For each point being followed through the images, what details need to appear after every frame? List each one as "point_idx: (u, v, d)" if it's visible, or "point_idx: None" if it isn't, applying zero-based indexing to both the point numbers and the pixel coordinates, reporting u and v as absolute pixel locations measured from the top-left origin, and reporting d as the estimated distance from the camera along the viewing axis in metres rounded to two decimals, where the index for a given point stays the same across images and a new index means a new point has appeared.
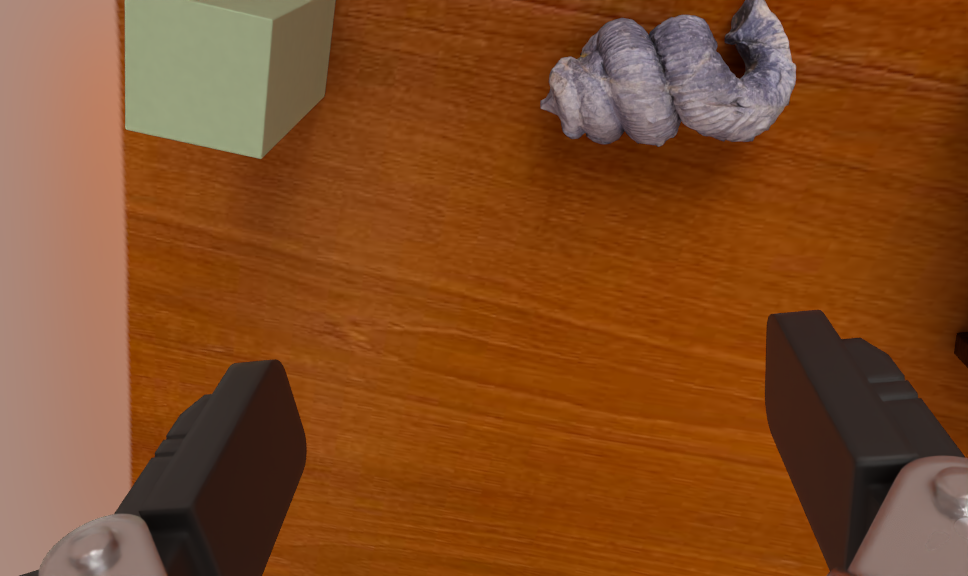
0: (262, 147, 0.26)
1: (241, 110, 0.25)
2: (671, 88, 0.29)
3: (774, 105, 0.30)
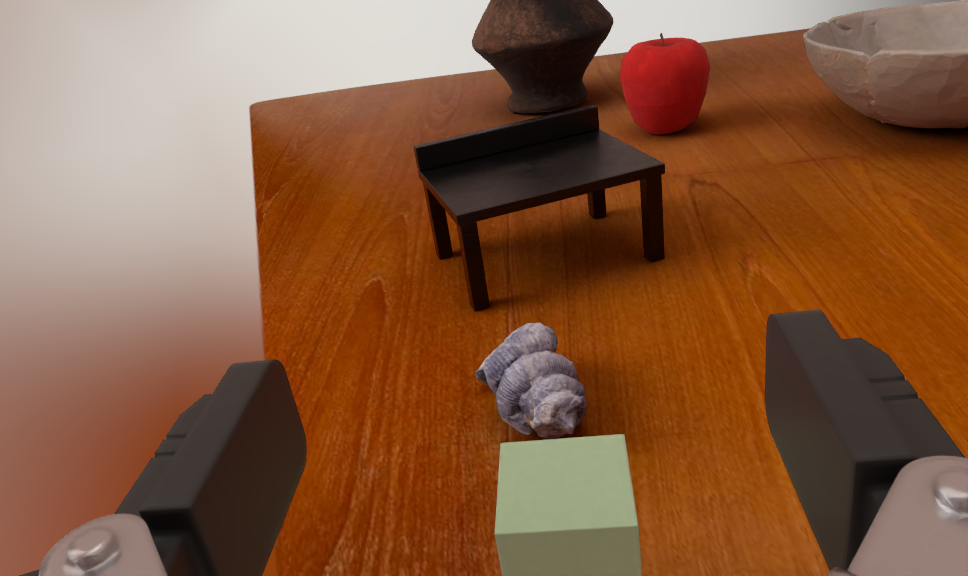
0: None
1: (583, 450, 0.28)
2: (526, 354, 0.43)
3: (525, 324, 0.47)
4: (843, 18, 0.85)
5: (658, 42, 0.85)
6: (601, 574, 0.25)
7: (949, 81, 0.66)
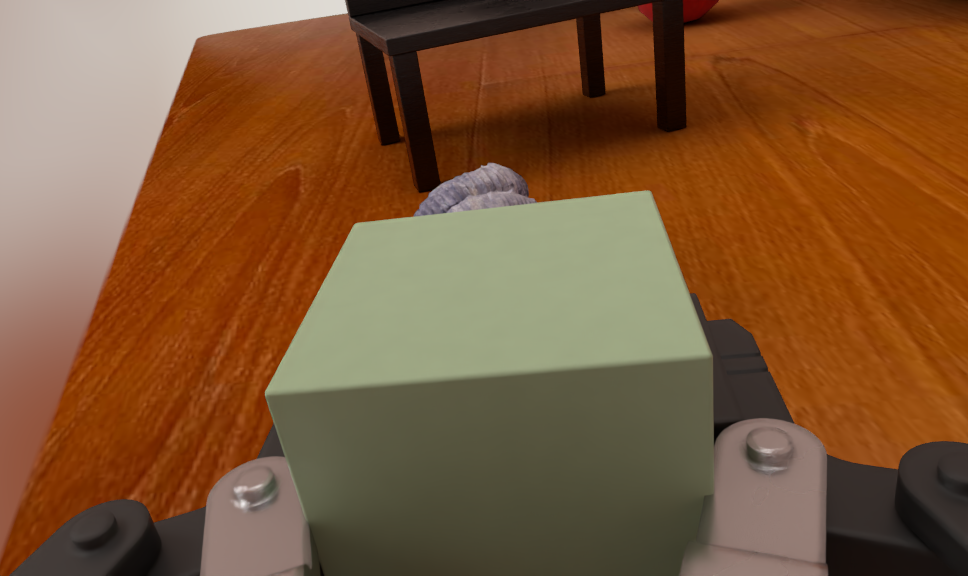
0: (623, 193, 0.12)
1: (548, 220, 0.11)
2: None
3: None
4: None
5: None
6: (594, 521, 0.09)
7: None
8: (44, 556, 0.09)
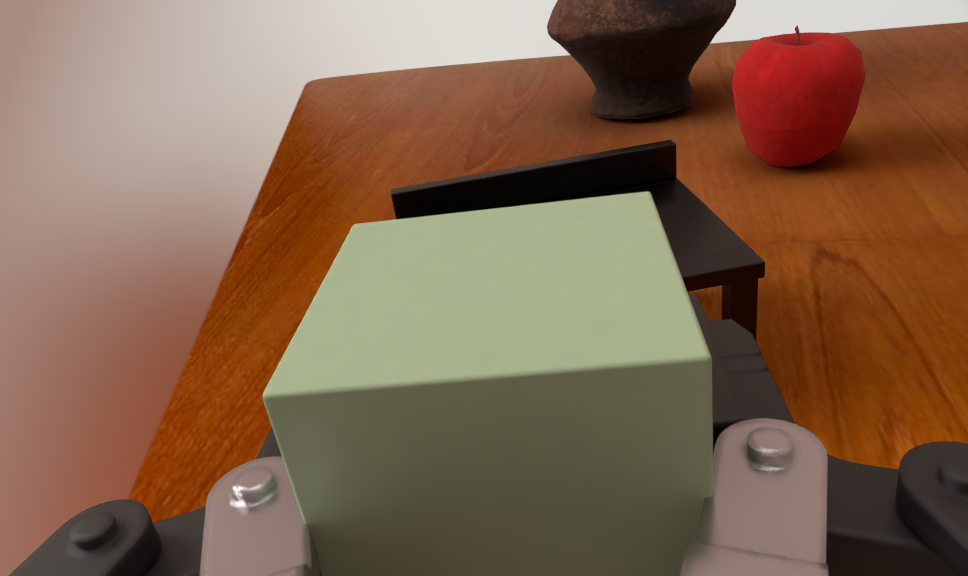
0: (622, 194, 0.12)
1: (547, 220, 0.11)
2: None
3: None
4: None
5: (792, 38, 0.61)
6: (593, 524, 0.09)
7: None
8: (43, 556, 0.09)
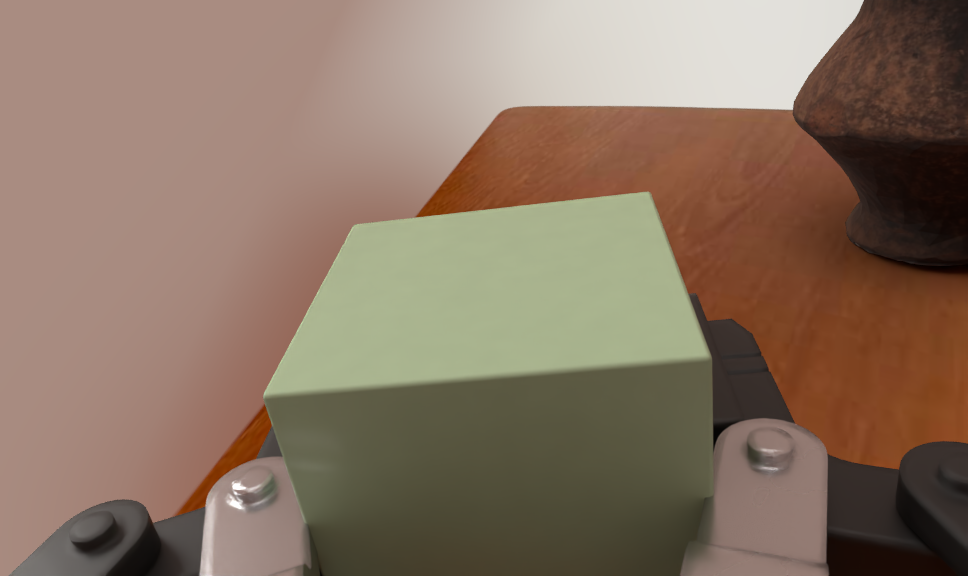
0: (622, 195, 0.12)
1: (547, 221, 0.11)
2: None
3: None
4: None
5: None
6: (593, 524, 0.09)
7: None
8: (43, 556, 0.09)
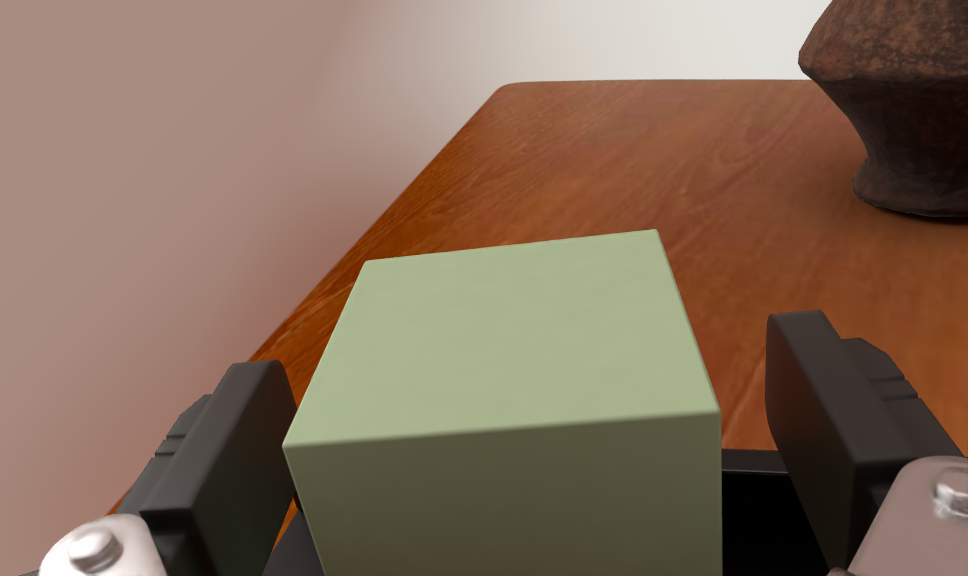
0: (630, 232, 0.12)
1: (556, 260, 0.11)
2: None
3: None
4: None
5: None
6: (604, 567, 0.09)
7: None
8: None
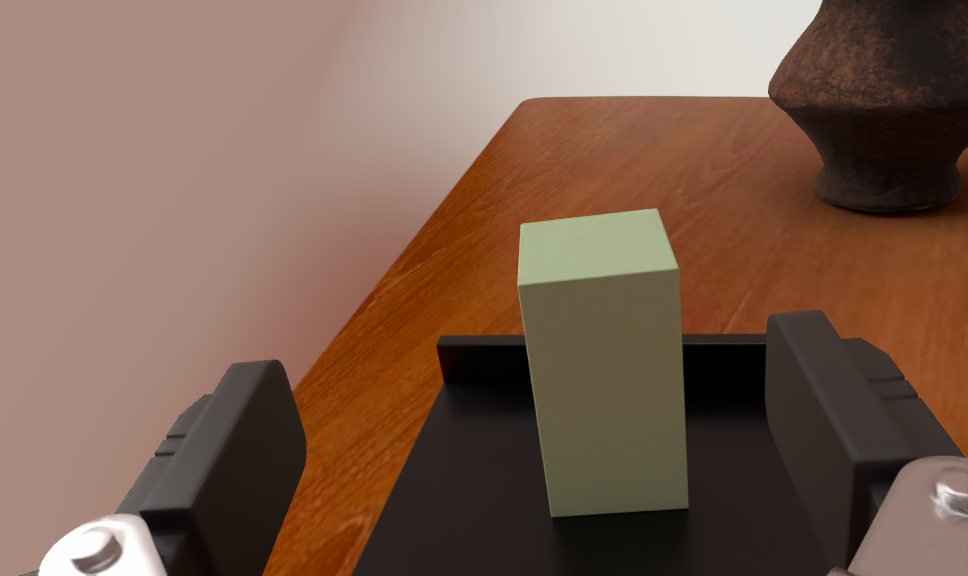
0: (644, 210, 0.26)
1: (612, 221, 0.25)
2: None
3: None
4: None
5: None
6: (636, 335, 0.23)
7: None
8: None
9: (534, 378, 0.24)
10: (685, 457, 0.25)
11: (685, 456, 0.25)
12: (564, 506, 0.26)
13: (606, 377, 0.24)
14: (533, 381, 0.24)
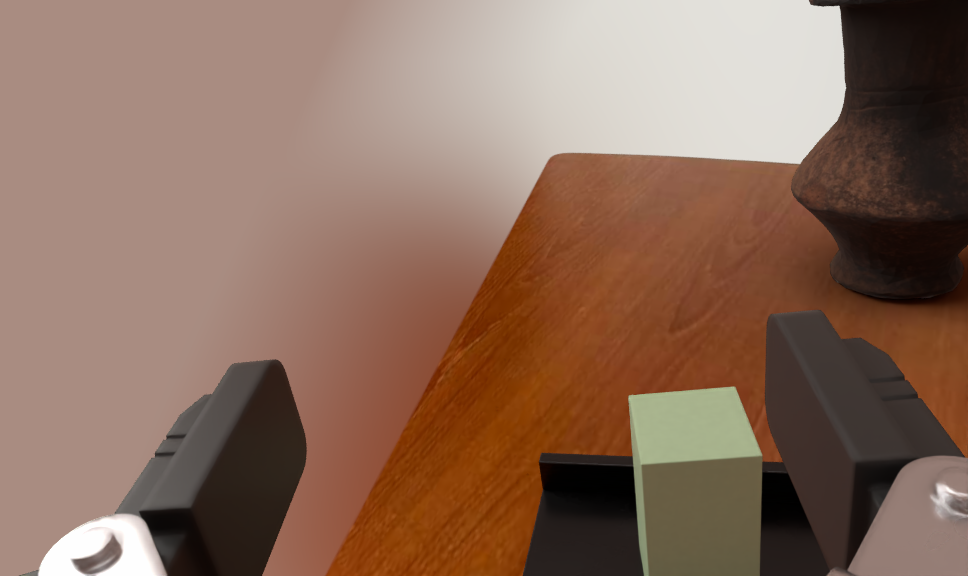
0: (725, 387, 0.34)
1: (702, 399, 0.33)
2: None
3: None
4: None
5: None
6: (727, 499, 0.31)
7: None
8: None
9: (647, 526, 0.32)
10: None
11: None
12: None
13: (702, 526, 0.31)
14: (646, 528, 0.32)
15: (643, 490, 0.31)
